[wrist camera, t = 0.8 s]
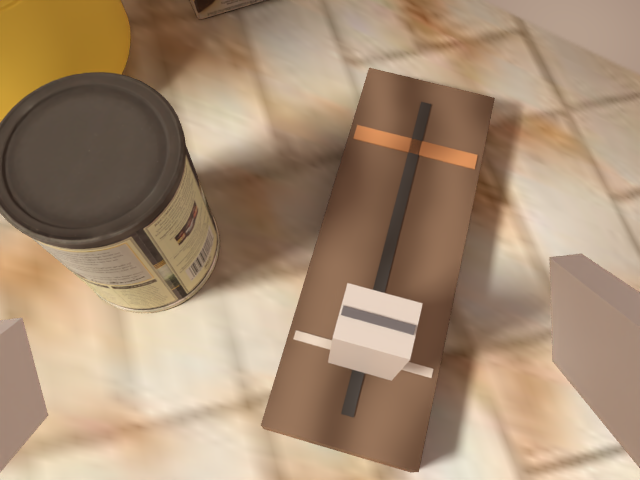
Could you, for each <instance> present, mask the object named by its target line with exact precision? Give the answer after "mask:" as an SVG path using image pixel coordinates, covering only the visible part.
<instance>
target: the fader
mask: <svg viewBox="0 0 640 480" xmlns="http://www.w3.org/2000/svg"><path fill="white" fill-rule="evenodd" d="M422 304H423V303H419V302H415V301H412V300H408V299H404V298H401V297H397V296H393V295H390V294H386V293H382V292H379V291H375V290H371V289H368V288H364V287H360V286H357V285H353V284H349V283H347V287H346V291H345V294H344V298H343V301H342V305H341V309H340V312H339V316H338V320H337V323H336V327H335V331H334V334H333V338H332V343H331V349H330V354H329V359H328V363H331V364H335V365H338V366H342V367H345V368H349V369H352V370H356V371H359V372H363V373H366V374H370V375H373V376H377V377H380V378H384V379H387V380H391V381H392V380H393V379H394V377H395V376H396V375H397V374H398V373H399V372H400V371H401V369H402V368H403V367H404V366H405V365H406V364H407V363H408V362H409V360H410V358H411V354H412V349H413V345H414V340H415V336H416V331H417V327H418V322H419V318H420V313H421V309H422Z"/></svg>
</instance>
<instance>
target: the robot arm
mask: <svg viewBox="0 0 640 480" xmlns="http://www.w3.org/2000/svg"><path fill="white" fill-rule="evenodd" d="M549 258H550V291H551V324H552V357H553V362H554V364H555V365H556V366H557V367H558V368H559V370H560V371H561V372H562V373H563V375H564V376H565V377H566V378H567V379H568V381H569V382H570V383H571V384H572V386H573V387H574V388H575V389H576V391H577V392H578V393H579V394H580V395H581V397H582V398H583V399H584V400H585V402H586V403H587V404H588V405H589V406H590V408H591V409H592V410H593V411H594V413H595V414H596V415H597V416H598V417H599V419H600V420H601V421H602V422H603V424H604V425H605V426H606V427H607V429H608V430H609V431H610V432H611V433H612V435H613V436H614V437H615V438H616V440H617V441H618V442H619V443H620V444H621V446H622V447H623V448H624V449H625V451H626V452H627V453H628V454H629V456H630V457H631V458H632V459H633V460H634V462H635V463H636V464H637V465H638V467H639V468H640V292H638V291H637V290H635V289H634V288H632V287H631V286H629V285H628V284H626V283H625V282H623V281H622V280H620V279H619V278H617V277H616V276H614V275H613V274H611V273H610V272H608V271H607V270H605V269H604V268H602V267H601V266H599V265H598V264H596V263H595V262H593V261H592V260H590V259H589V258H587V257H586V256H584V255H583V254H575V255H566V256H557V257H549ZM47 416H48V413H47V409H46V405H45V401H44V398H43V394H42V390H41V386H40V383H39V379H38V375H37V371H36V367H35V364H34V360H33V356H32V352H31V349H30V345H29V341H28V337H27V333H26V330H25V326H24V322H23V318H16V319H8V320H0V472H1V471H2V470H3V468H4V467H5V466H6V465H7V464H8V462H9V461H10V460H11V459H12V458H13V457H14V455H15V454H16V453H17V452H18V451H19V449H20V448H21V447H22V446H23V445H24V444H25V442H26V441H27V440H28V439H29V438H30V436H31V435H32V434H33V433H34V432H35V430H36V429H37V428H38V427H39V426H40V425H41V423H42V422H43V421H44V420H45V419H46V417H47Z"/></svg>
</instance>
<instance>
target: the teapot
mask: <svg viewBox="0 0 640 480" xmlns="http://www.w3.org/2000/svg"><path fill="white" fill-rule="evenodd" d="M130 41H131V36H130V25H129V20H128V17H127V14H126V12H125V9H124V7H123V5H122V2H121V0H0V122H1V121H2V120H3V118H4V117H5V116H6V115H7V113H8V112H9V111H10V110H11V109H12V108H13V107H14V106H15V105H16V104H17V103H18V102H19V101H20V100H22V99H23V98H24V97H25V96H27V95H28V94H30V93H31V92H33V91H34V90H36V89H38V88H39V87H41V86H43V85H45V84H47V83H49V82H51V81H54V80H57V79H60V78H63V77H66V76H70V75H74V74H82V73H90V72H106V73H115V74H121V75H122V73H123V70H124V68H125V66H126V63H127V59H128V56H129V49H130Z"/></svg>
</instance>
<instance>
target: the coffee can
mask: <svg viewBox="0 0 640 480" xmlns="http://www.w3.org/2000/svg"><path fill="white" fill-rule="evenodd" d="M0 213H1V214H2V216H3V217H4V218H5V219H6V220H7V221H8V222H9V223H11V224H12V225H13V226H14V227H15V228H17V229H18V230H19V231H21V232H22V233H24V234H26V235H28V236H29V237H31V238H32V239H34V240H35V241H36V242H37V243H38V244H39V245H41V246H42V247H43V248H44V249H45V250H46V251H48V252H49V253H50V254H51V255H53V256H54V257H55V258H56V259H57V260H59V261H60V262H61V263H62V264H63V265H64V266H66V267H67V268H68V269H69V270H70V271H72V272H73V273H74V274H75V275H76V276H78V277H79V278H80V279H81V280H82V281H83V282H85V283H86V284H87V285H88V286H89V287H90V288H92V289H93V290H94V292H95V293H96V294H97V295H98V296H99V297H100V298H101V299H103V300H104V301H105V302H107V303H109V304H110V305H112V306H114V307H117V308H119V309H122V310H124V311H130V312H136V313H154V312H158V311H163V310H166V309H169V308H172V307H175V306H177V305H179V304H181V303H183V302H184V301H186V300H188V299H189V298H190V297H192V296H193V295H194V294H195V293H196V292H197V291H198V290H200V289H201V288H202V286H203V285H204V284H205V282H206V281H207V280H208V278H209V277H210V275H211V273H212V271H213V269H214V267H215V264H216V261H217V258H218V254H219V243H220V238H219V232H218V227H217V224H216V221H215V219H214V217H213V215H212V213H211V211H210V208H209V206H208V203H207V200H206V198H205V195H204V192H203V190H202V187H201V184H200V182H199V179H198V176H197V174H196V171H195V168H194V166H193V163H192V160H191V158H190V155H189V152H188V150H187V147H186V144H185V137H184V133H183V130H182V126H181V123H180V121H179V118H178V116H177V114H176V112H175V111H174V109H173V108H172V106H171V105H170V104H169V102H168V101H167V100H166V99H165V98H164V97H163V96H162V95H161V94H160V93H158V92H157V91H156V90H154V89H153V88H151V87H150V86H148V85H147V84H145V83H143V82H141V81H139V80H136V79H134V78H132V77H129V76H125V75H121V74H115V73H106V72H90V73H82V74H74V75H70V76H66V77H63V78H60V79H57V80H54V81H51V82H49V83H47V84H45V85H43V86H41V87H39V88H38V89H36V90H34V91H33V92H31V93H30V94H28V95H27V96H25V97H24V98H23V99H22V100H20V101H19V102H18V103H17V104H16V105H15V106H14V107H13V108H12V109H11V110H10V111H9V112H8V113H7V115H6V116H5V117H4V118H3V120H2V121H1V122H0Z"/></svg>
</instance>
